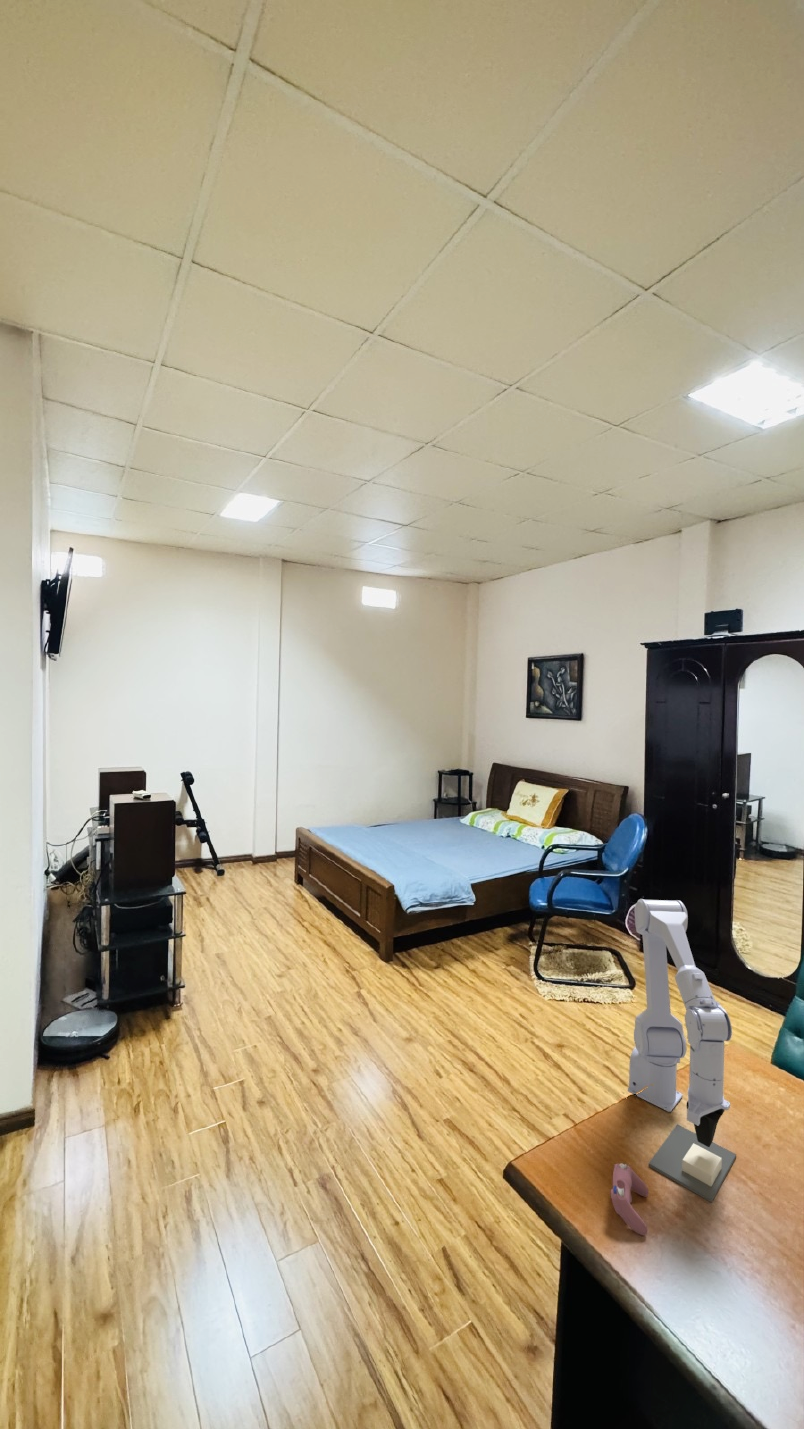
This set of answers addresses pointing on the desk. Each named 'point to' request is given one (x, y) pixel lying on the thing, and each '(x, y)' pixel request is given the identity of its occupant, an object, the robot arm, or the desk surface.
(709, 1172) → the block
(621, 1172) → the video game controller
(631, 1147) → the desk surface
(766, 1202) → the desk surface
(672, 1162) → the mat
